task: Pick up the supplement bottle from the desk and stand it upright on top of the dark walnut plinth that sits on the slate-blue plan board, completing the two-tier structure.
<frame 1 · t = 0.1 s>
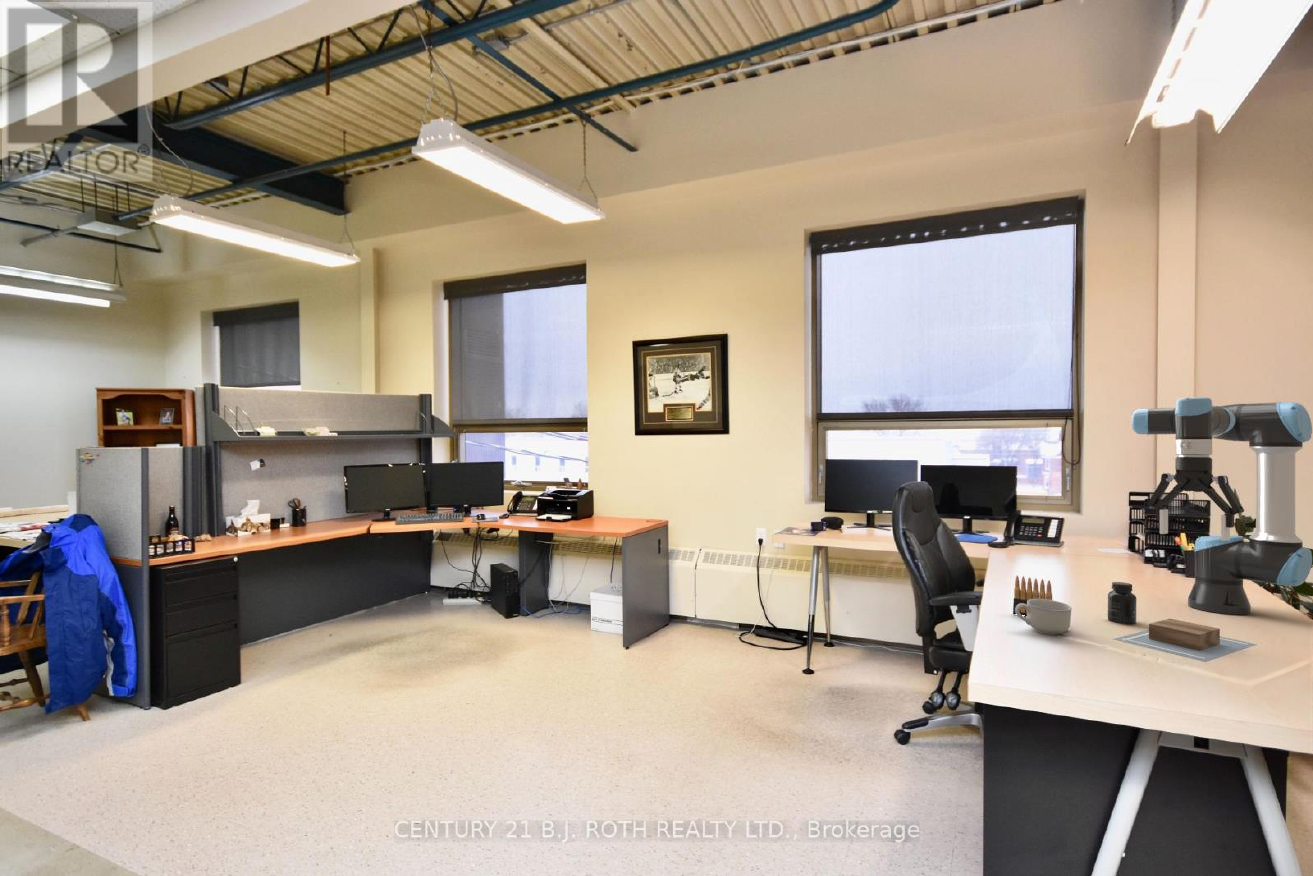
hand: (1193, 537, 173), 28 cm above the table, tool pointing down, fingers open, 13 cm apart
ammunition clip: (1032, 618, 197), on the table
teacup: (1042, 632, 183), on the table
walnut plinth: (1183, 641, 170), resting on plan board
supplement bottle: (1121, 625, 190), on the table
plan board: (1183, 645, 170), on the table
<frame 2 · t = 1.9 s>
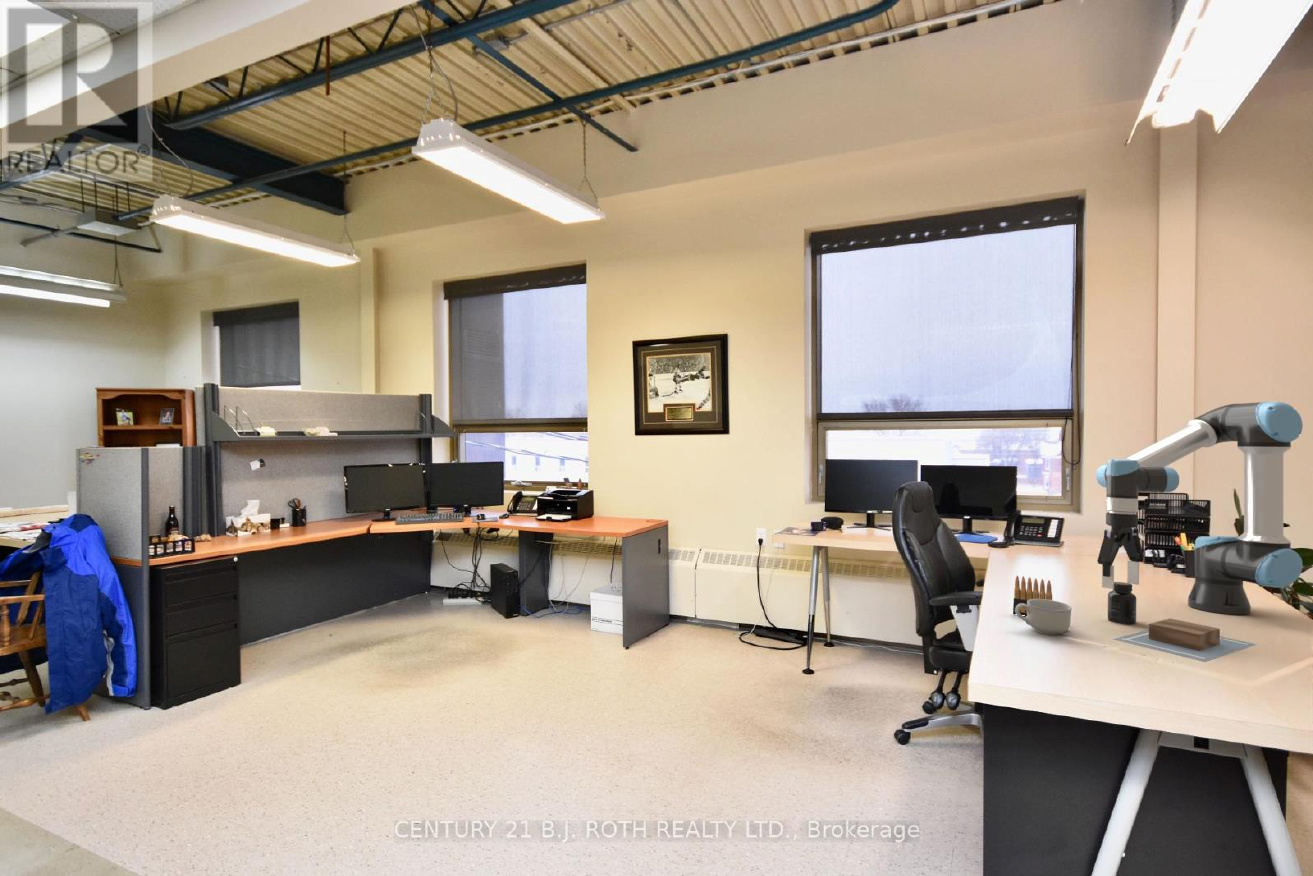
hand: (1120, 586, 190), 11 cm above the table, tool pointing down, fingers open, 13 cm apart
nothing on the table moved.
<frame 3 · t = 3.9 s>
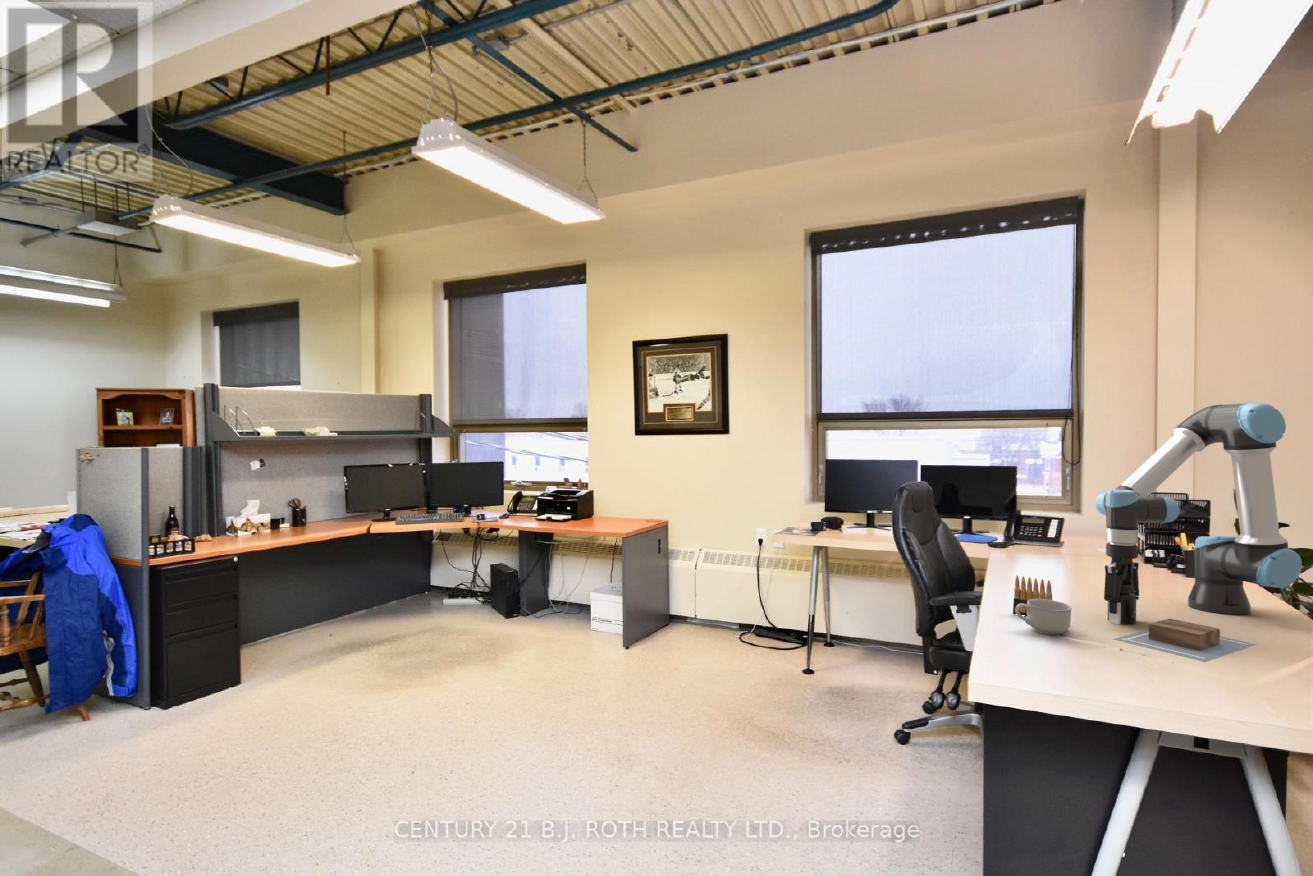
hand: (1121, 622, 190), 1 cm above the table, tool pointing down, fingers closed on supplement bottle, 7 cm apart
supplement bottle: (1121, 625, 190), on the table, touching gripper
everything else where it was.
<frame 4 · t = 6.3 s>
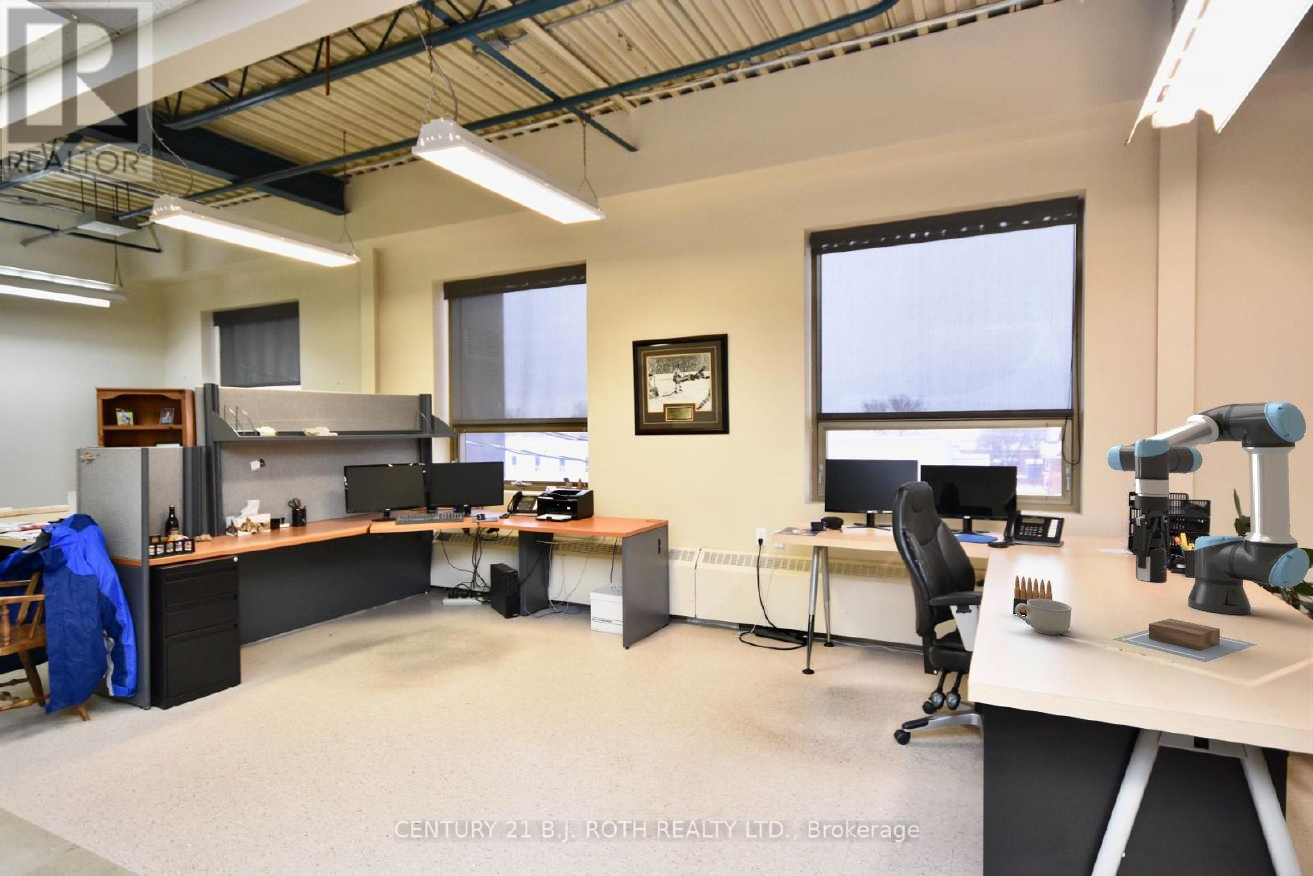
hand: (1151, 579, 180), 15 cm above the table, tool pointing down, fingers closed on supplement bottle, 7 cm apart
supplement bottle: (1151, 581, 180), point 15 cm above the table, touching gripper
everything else where it was.
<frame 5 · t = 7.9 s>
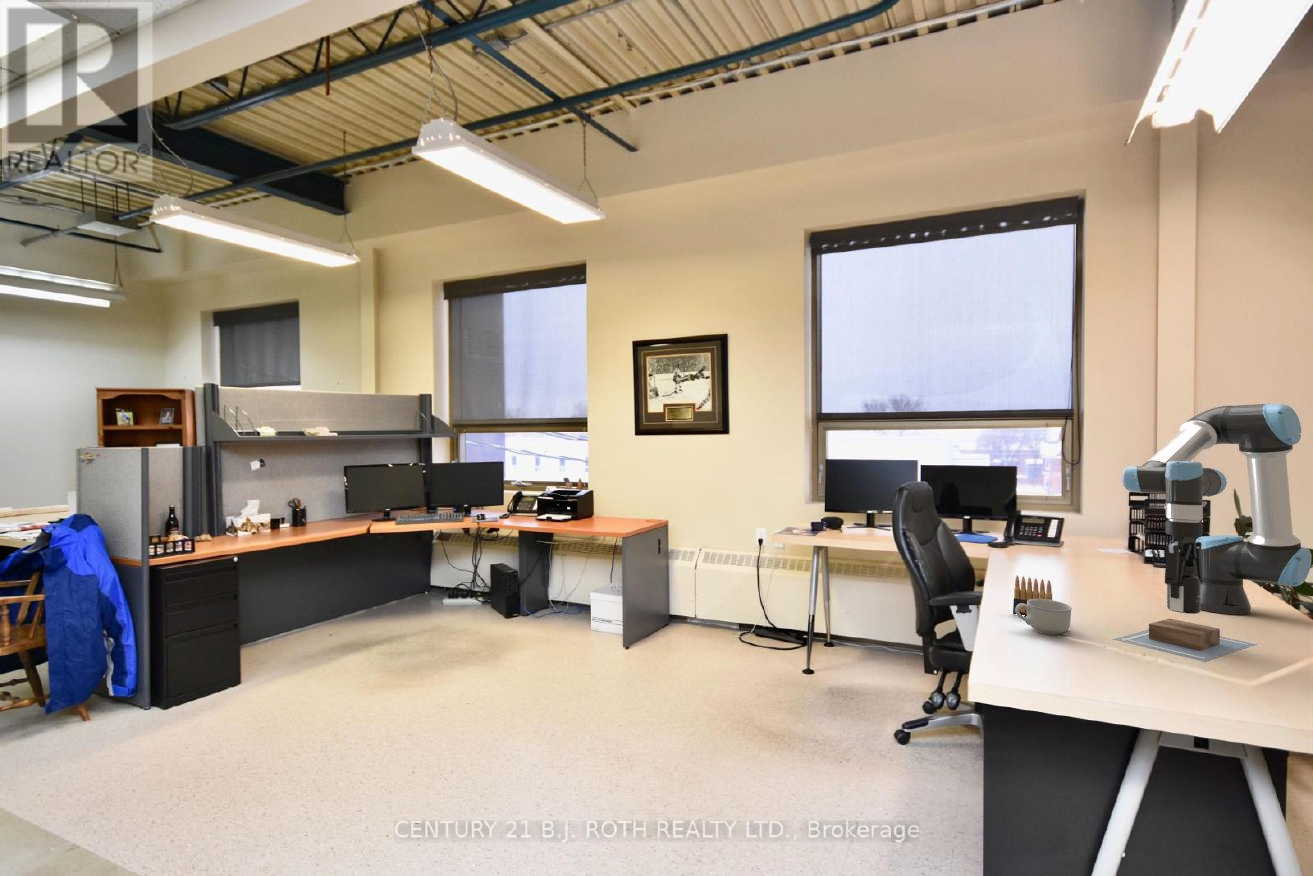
hand: (1183, 608, 170), 10 cm above the table, tool pointing down, fingers closed on supplement bottle, 7 cm apart
supplement bottle: (1183, 611, 170), point 9 cm above the table, touching gripper
everything else where it was.
when the fingers open (7 cm above the table, at t = 9.1 s): supplement bottle drops 1 cm, resting on walnut plinth.
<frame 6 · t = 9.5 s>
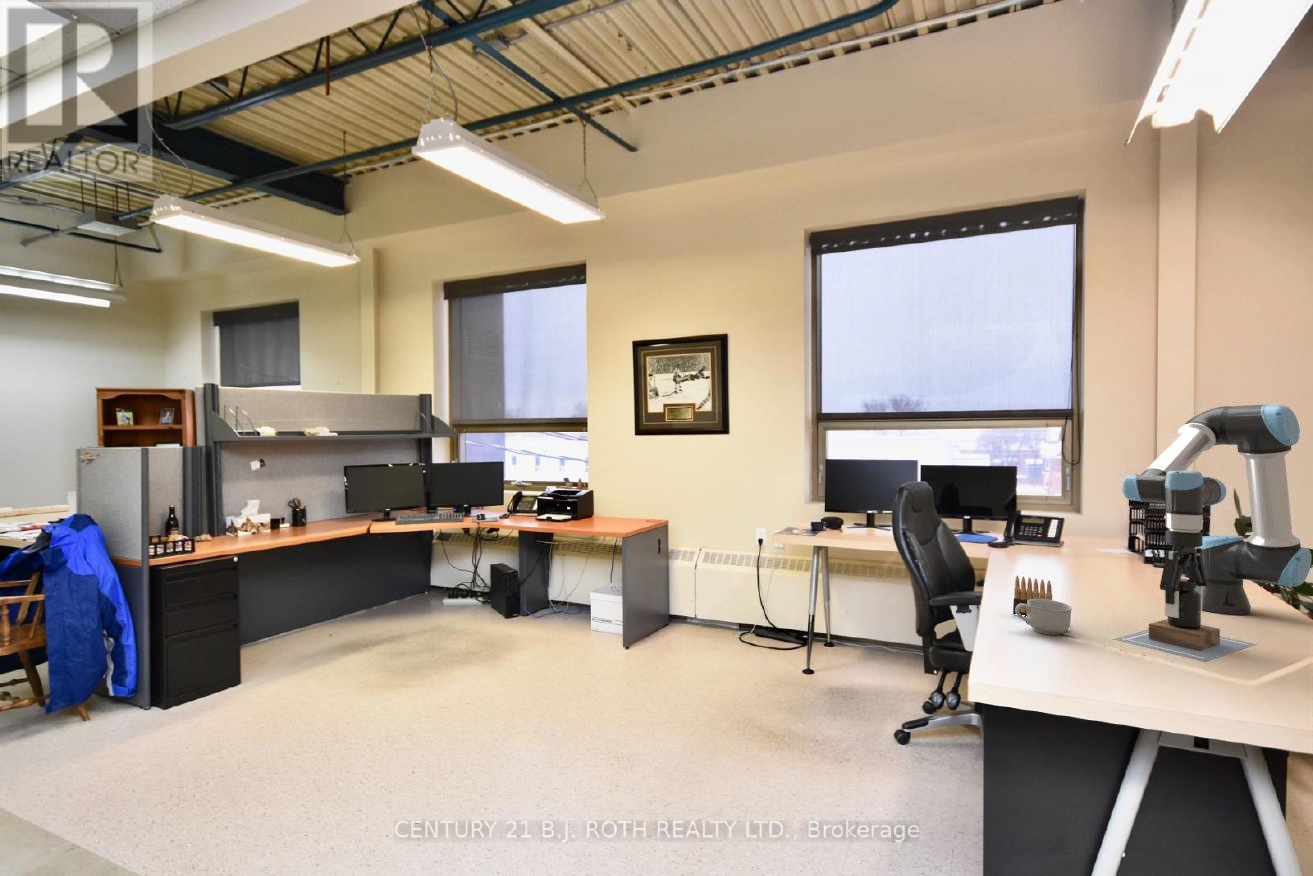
hand: (1183, 613, 170), 8 cm above the table, tool pointing down, fingers open, 12 cm apart
supplement bottle: (1184, 626, 171), point 5 cm above the table, touching walnut plinth
everything else where it was.
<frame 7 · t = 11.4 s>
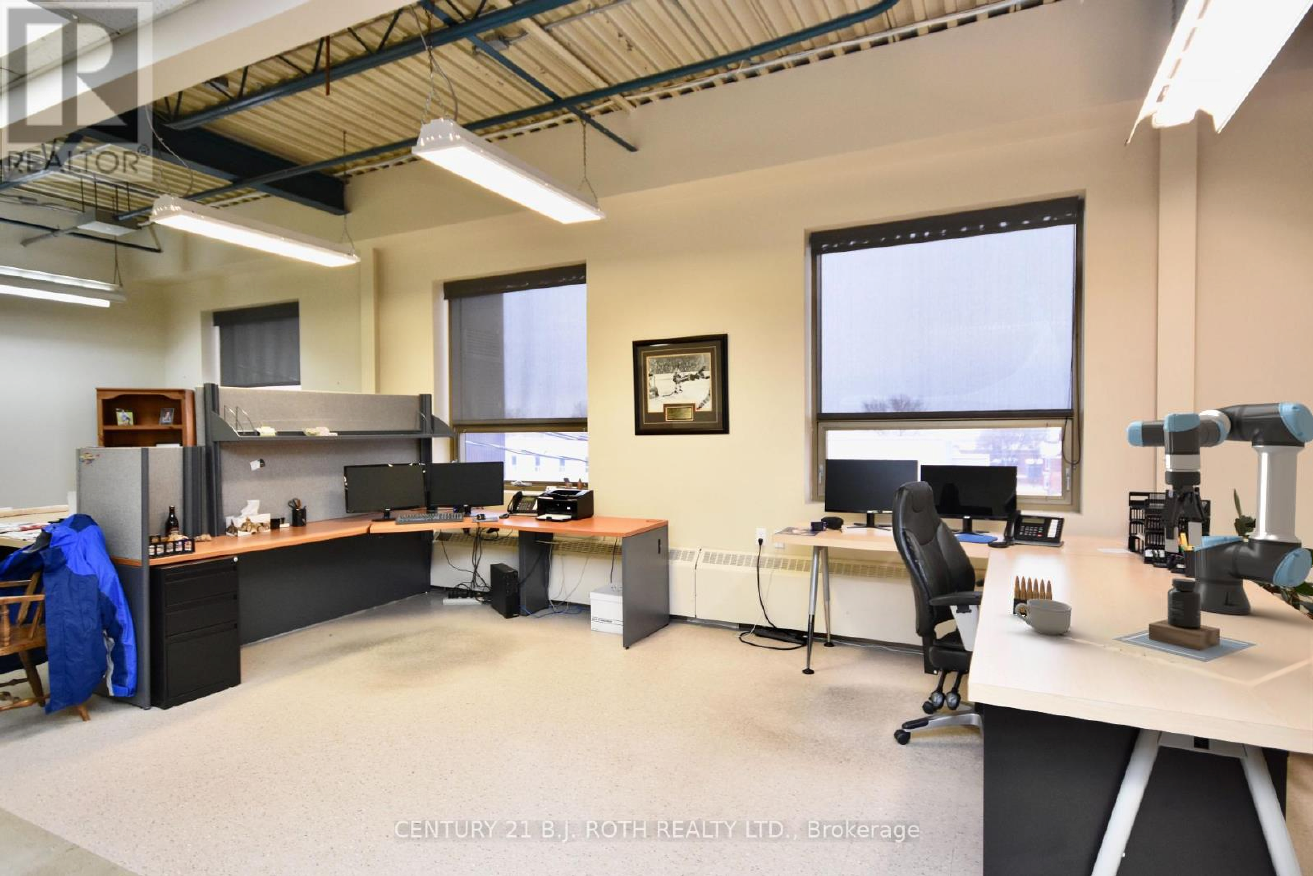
hand: (1183, 549, 177), 24 cm above the table, tool pointing down, fingers open, 13 cm apart
nothing on the table moved.
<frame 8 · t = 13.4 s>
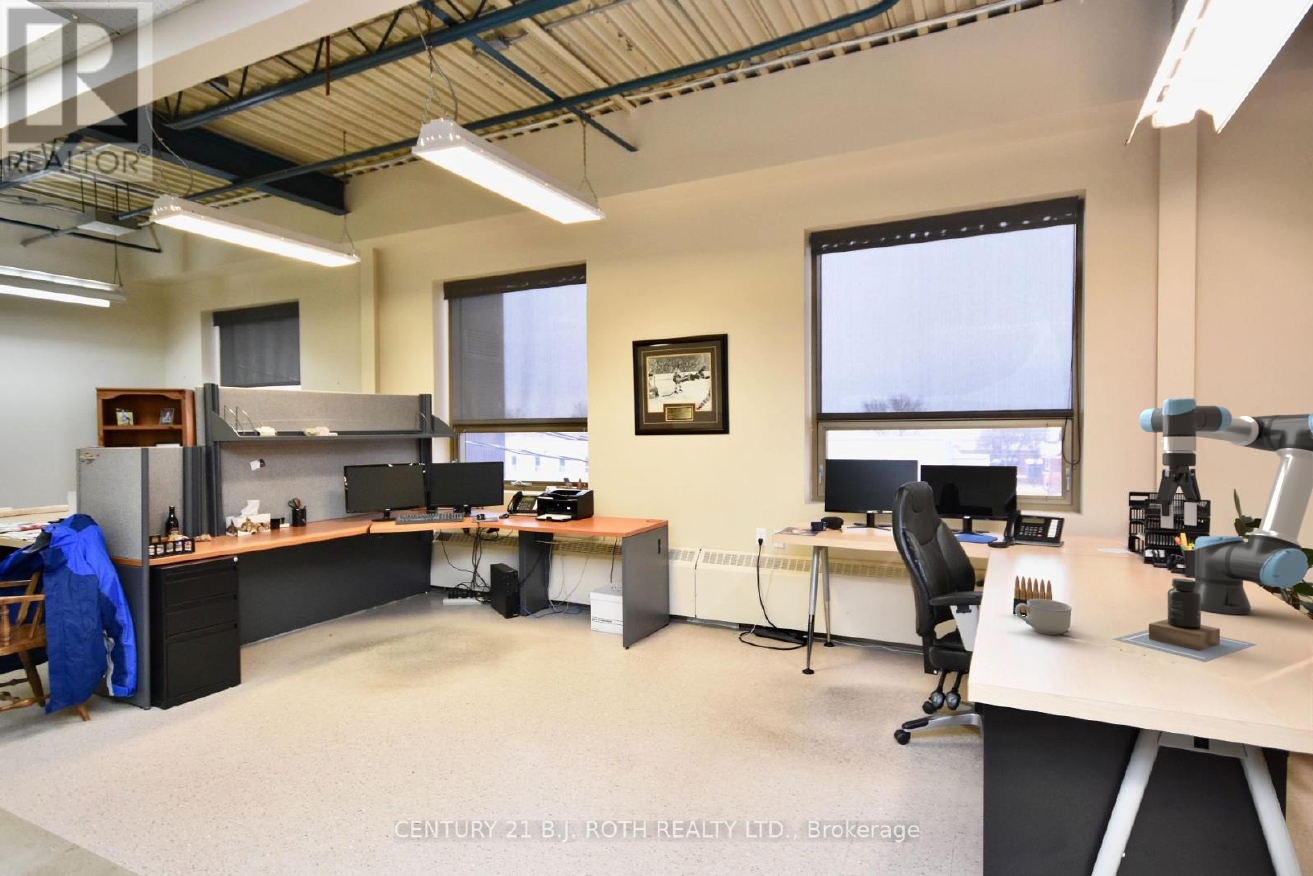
hand: (1179, 526, 188), 29 cm above the table, tool pointing down, fingers open, 13 cm apart
nothing on the table moved.
at the end: supplement bottle inside the target area on the walnut plinth (0.2 cm from its centre), point 3.8 cm above the walnut plinth's base; supplement bottle tilted 0°; the gripper is holding nothing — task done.
